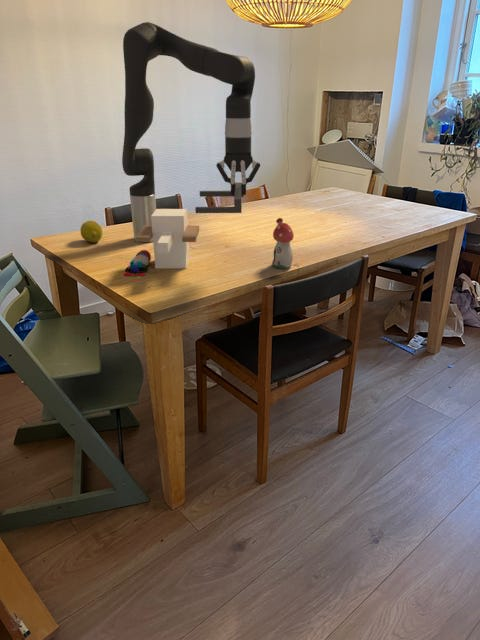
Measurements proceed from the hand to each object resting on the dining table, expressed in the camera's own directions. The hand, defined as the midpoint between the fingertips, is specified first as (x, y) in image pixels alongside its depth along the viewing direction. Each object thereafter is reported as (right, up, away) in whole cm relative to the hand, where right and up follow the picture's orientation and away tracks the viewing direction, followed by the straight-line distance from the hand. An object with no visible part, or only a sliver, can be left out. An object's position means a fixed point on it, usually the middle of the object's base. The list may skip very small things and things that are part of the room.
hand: (238, 196), depth 144 cm
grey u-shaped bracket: (-6, -3, -2) cm, 7 cm away
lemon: (-56, -8, +38) cm, 68 cm away
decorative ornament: (+14, -20, +13) cm, 27 cm away
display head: (-22, -21, +9) cm, 32 cm away
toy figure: (-32, -21, +10) cm, 40 cm away
